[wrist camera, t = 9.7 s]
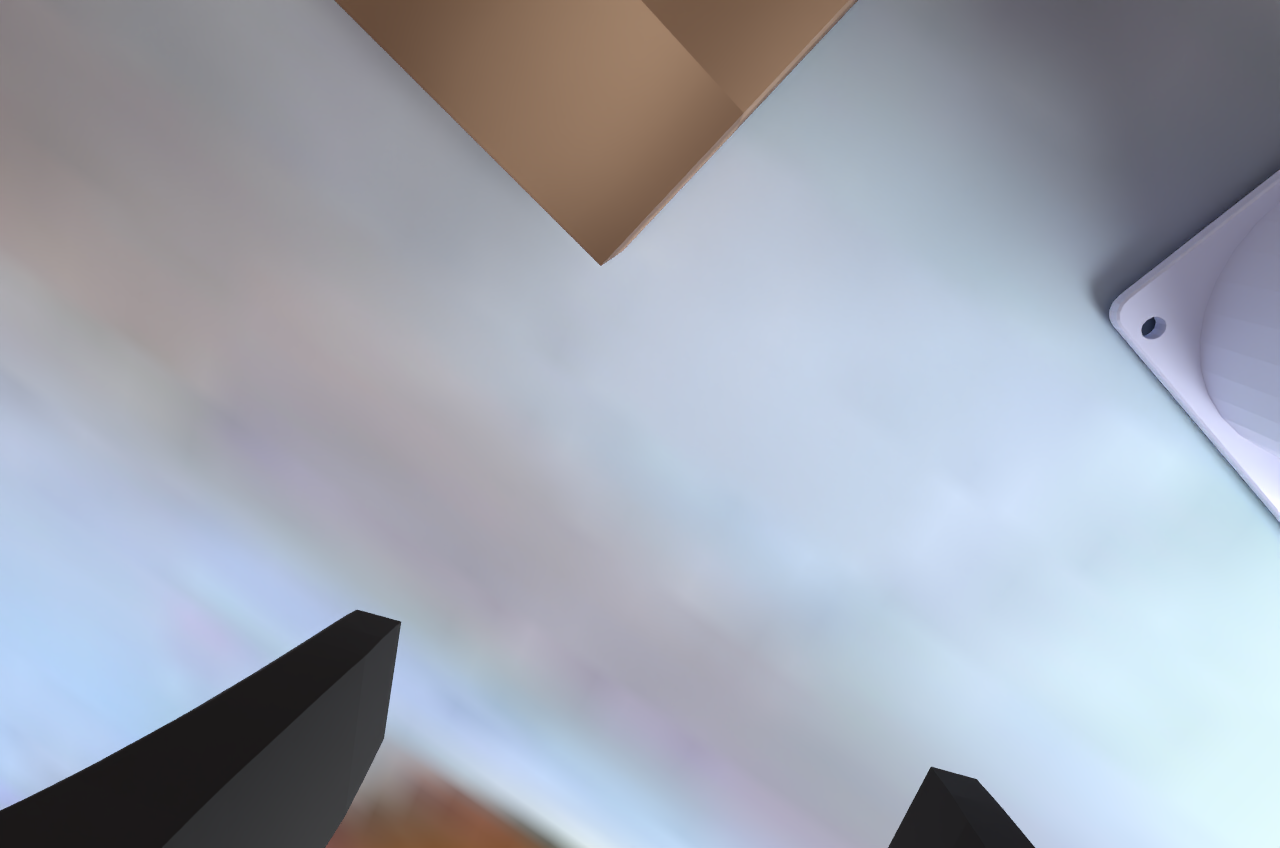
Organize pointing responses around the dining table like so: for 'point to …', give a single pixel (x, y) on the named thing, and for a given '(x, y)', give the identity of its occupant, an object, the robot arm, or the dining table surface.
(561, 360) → the dining table surface
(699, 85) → the socket block
